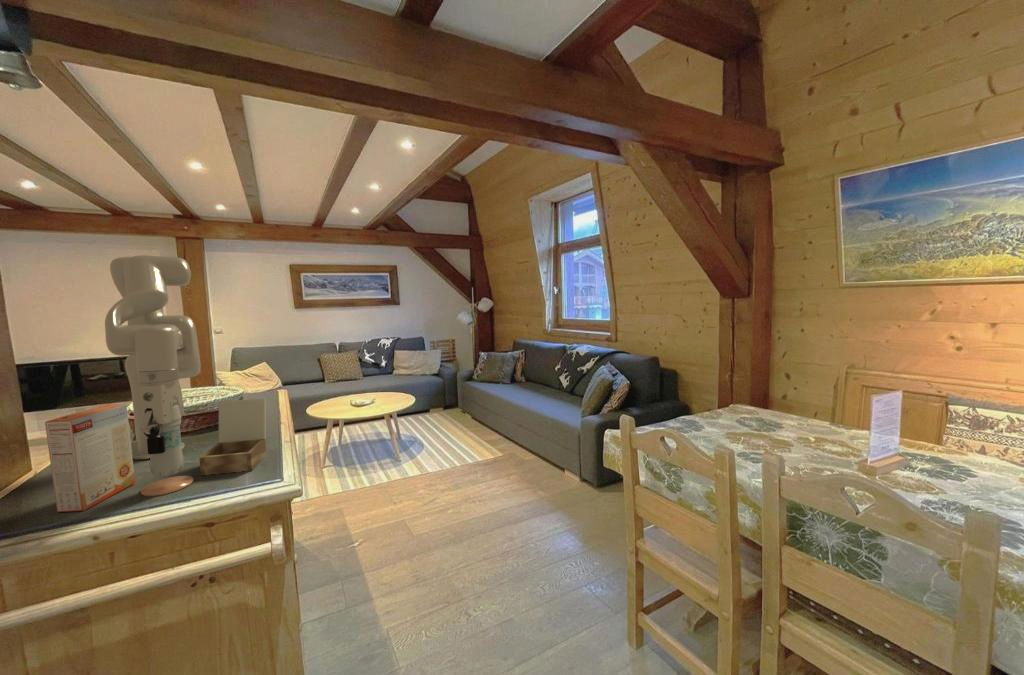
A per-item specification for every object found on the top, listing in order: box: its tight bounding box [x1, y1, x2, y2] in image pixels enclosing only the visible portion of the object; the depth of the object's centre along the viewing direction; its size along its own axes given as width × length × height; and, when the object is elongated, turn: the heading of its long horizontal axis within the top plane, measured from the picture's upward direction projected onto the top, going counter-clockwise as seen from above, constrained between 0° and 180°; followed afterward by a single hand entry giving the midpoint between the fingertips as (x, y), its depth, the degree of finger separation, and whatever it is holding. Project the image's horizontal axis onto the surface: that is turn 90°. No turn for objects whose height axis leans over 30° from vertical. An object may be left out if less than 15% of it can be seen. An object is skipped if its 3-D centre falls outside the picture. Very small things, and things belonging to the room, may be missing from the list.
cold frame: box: [199, 439, 267, 476], centre depth 114 cm, size 12×12×5 cm
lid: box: [218, 398, 267, 443], centre depth 121 cm, size 12×4×17 cm, turn 105°
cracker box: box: [44, 403, 136, 513], centre depth 95 cm, size 14×6×21 cm, turn 5°
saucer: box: [140, 475, 194, 497], centre depth 101 cm, size 10×10×1 cm
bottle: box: [149, 405, 184, 478], centre depth 100 cm, size 7×7×20 cm
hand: (164, 447), depth 100 cm, fingers closed on bottle, 6 cm apart
